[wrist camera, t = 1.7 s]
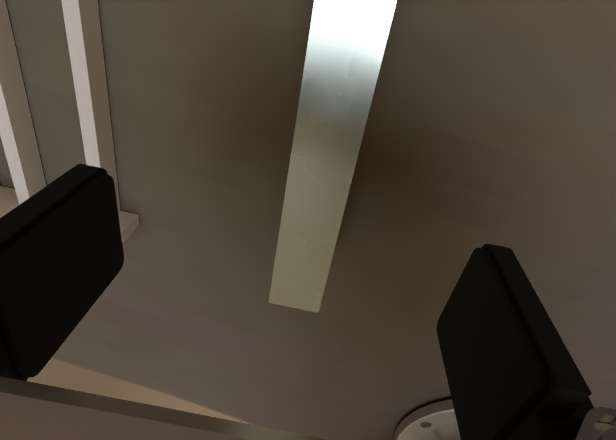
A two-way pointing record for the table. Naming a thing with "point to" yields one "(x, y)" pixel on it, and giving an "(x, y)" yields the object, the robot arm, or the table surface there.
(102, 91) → the rack
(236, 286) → the table surface
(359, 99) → the panel
